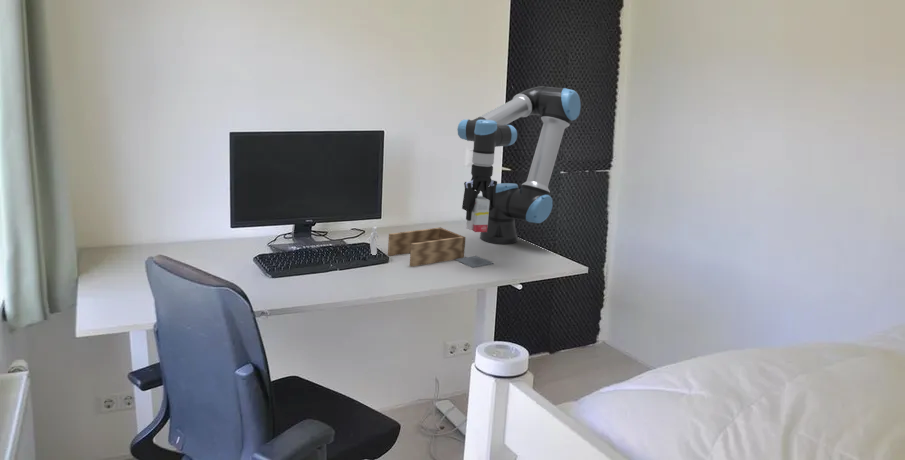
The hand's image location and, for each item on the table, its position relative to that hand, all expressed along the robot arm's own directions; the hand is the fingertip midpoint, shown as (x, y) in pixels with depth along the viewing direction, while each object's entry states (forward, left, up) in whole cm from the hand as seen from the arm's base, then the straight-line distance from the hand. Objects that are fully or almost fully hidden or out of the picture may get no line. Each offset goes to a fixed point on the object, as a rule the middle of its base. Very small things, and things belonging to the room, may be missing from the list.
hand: (476, 228), depth 254 cm
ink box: (0, 0, -1) cm, 1 cm away
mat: (0, 0, -13) cm, 13 cm away
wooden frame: (+12, -13, -13) cm, 22 cm away
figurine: (+31, -20, -13) cm, 39 cm away
